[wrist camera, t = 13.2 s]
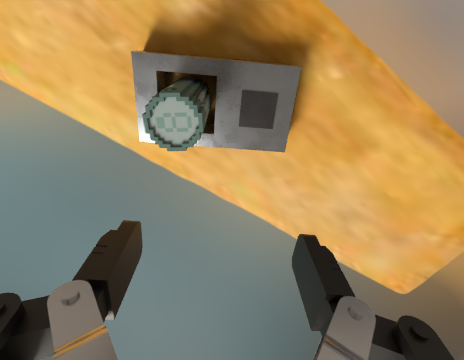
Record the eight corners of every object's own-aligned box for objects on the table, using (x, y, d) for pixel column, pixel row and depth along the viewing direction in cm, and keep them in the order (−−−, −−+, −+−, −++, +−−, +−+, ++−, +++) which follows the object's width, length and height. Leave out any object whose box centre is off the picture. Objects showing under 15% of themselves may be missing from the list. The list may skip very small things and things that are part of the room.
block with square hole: (143, 50, 36) (130, 51, 31) (292, 64, 37) (301, 67, 32) (149, 131, 41) (139, 141, 37) (278, 141, 43) (285, 152, 38)
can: (169, 77, 38) (138, 93, 24) (209, 76, 38) (200, 92, 24) (174, 117, 40) (149, 151, 27) (211, 117, 40) (204, 150, 27)
